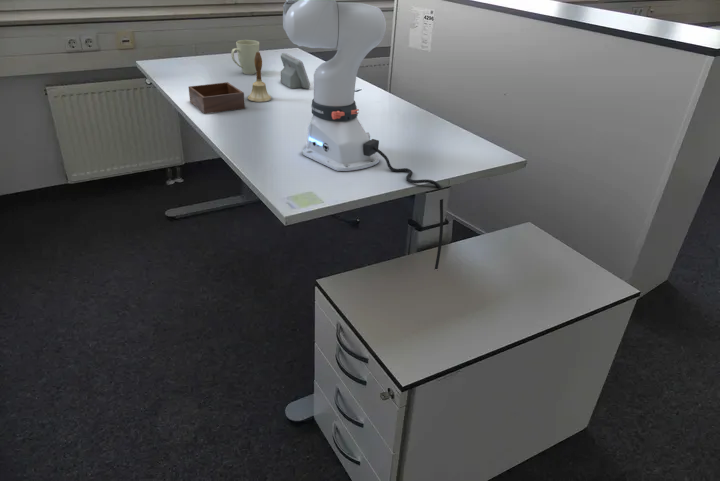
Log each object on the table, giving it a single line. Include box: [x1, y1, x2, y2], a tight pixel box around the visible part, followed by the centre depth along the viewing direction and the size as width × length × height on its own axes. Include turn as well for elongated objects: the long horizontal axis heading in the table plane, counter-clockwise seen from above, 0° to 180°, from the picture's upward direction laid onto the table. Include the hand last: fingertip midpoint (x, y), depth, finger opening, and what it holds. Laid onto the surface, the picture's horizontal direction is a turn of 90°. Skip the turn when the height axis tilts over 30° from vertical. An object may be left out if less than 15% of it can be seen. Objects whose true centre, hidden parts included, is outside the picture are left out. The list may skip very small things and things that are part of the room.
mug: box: [230, 39, 260, 76], centre depth 222 cm, size 11×10×12 cm
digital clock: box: [280, 52, 311, 90], centre depth 212 cm, size 16×9×11 cm, turn 20°
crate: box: [188, 81, 246, 115], centre depth 187 cm, size 14×14×5 cm
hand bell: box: [247, 51, 272, 103], centre depth 193 cm, size 8×8×16 cm
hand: (311, 44), depth 181 cm, fingers open, 8 cm apart
